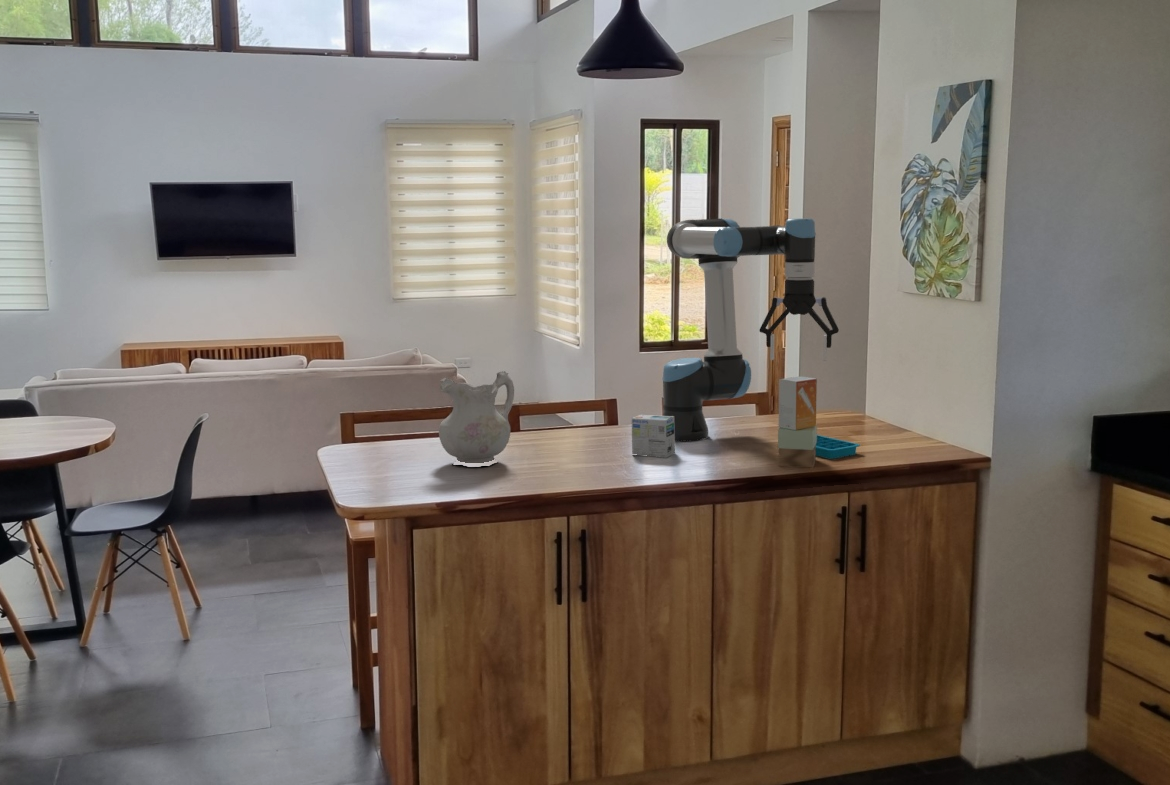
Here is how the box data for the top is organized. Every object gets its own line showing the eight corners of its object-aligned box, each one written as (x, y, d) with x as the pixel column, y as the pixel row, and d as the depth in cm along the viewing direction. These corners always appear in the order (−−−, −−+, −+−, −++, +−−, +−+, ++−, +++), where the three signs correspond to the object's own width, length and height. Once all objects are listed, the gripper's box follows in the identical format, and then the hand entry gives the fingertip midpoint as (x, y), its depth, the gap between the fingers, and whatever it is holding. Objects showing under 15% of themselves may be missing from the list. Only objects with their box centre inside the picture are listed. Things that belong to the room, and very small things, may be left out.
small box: (795, 430, 282) (796, 381, 280) (778, 427, 287) (778, 378, 285) (817, 426, 287) (817, 378, 285) (799, 423, 292) (799, 375, 290)
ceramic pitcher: (489, 455, 311) (481, 369, 308) (534, 459, 297) (526, 369, 294) (428, 469, 296) (419, 379, 293) (472, 474, 282) (463, 379, 279)
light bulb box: (675, 453, 303) (675, 415, 301) (667, 458, 297) (666, 420, 295) (640, 450, 308) (639, 413, 306) (631, 455, 302) (630, 417, 300)
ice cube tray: (830, 461, 291) (830, 450, 290) (780, 448, 308) (780, 438, 307) (861, 455, 297) (862, 444, 296) (810, 443, 314) (810, 433, 313)
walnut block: (778, 467, 285) (778, 448, 285) (781, 459, 294) (781, 441, 293) (813, 468, 283) (813, 449, 282) (815, 460, 292) (815, 442, 291)
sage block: (778, 448, 285) (778, 429, 284) (783, 441, 293) (783, 423, 293) (812, 449, 282) (812, 431, 281) (816, 442, 291) (816, 424, 290)
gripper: (749, 279, 280) (749, 360, 284) (848, 279, 274) (846, 362, 277) (752, 277, 287) (752, 357, 291) (849, 277, 281) (847, 358, 284)
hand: (798, 359), depth 284 cm, fingers open, 13 cm apart
